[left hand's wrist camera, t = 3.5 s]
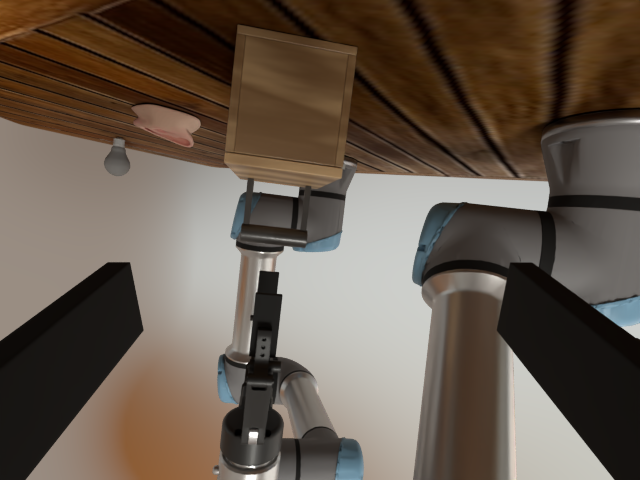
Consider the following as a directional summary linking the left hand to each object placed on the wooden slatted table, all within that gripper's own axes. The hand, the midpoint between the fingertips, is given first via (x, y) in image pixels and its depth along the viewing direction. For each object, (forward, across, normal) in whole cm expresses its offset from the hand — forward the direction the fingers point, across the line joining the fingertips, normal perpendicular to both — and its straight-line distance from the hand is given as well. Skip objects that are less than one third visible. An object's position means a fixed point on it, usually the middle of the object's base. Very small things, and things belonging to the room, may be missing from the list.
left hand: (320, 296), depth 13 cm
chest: (+30, +3, -10) cm, 31 cm away
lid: (+27, +4, 0) cm, 27 cm away
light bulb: (+87, +53, +1) cm, 102 cm away
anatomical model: (+56, +27, -5) cm, 62 cm away
